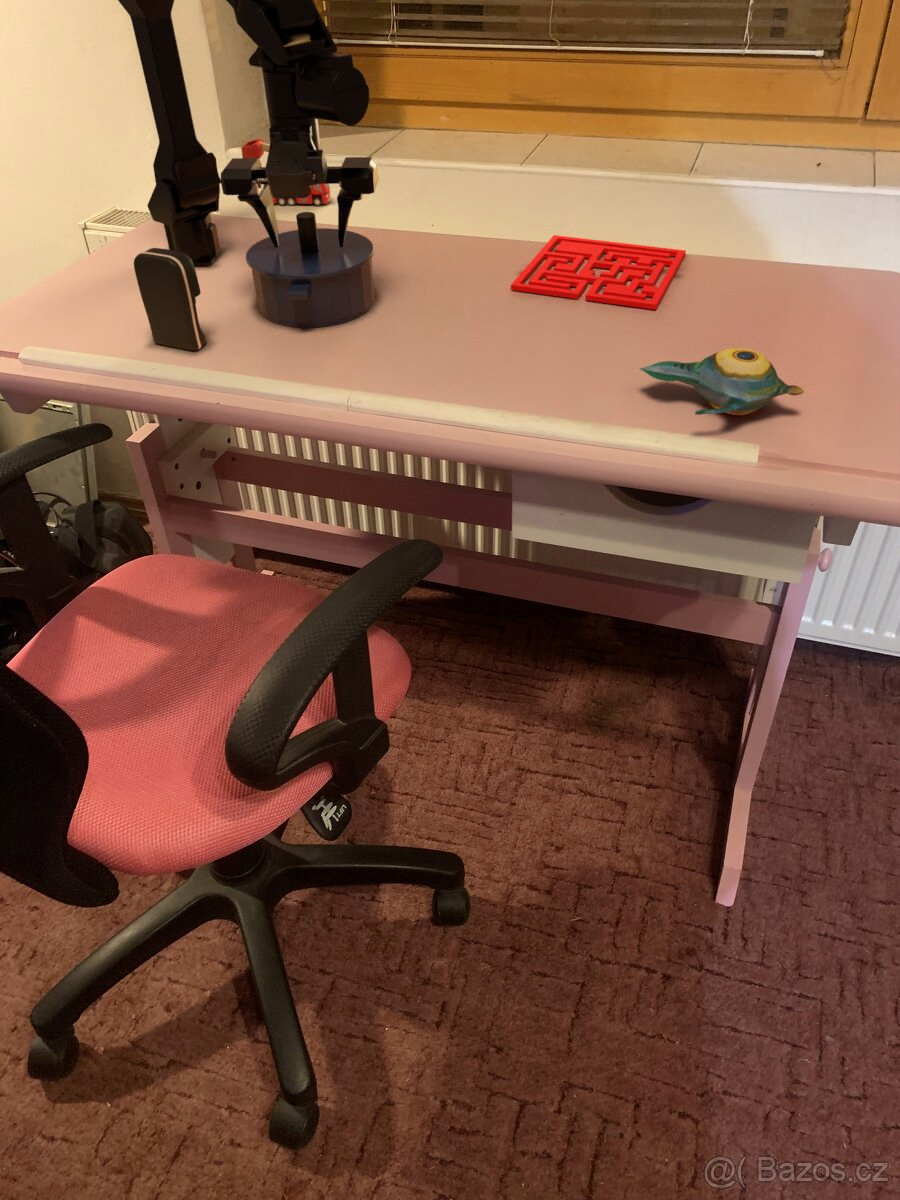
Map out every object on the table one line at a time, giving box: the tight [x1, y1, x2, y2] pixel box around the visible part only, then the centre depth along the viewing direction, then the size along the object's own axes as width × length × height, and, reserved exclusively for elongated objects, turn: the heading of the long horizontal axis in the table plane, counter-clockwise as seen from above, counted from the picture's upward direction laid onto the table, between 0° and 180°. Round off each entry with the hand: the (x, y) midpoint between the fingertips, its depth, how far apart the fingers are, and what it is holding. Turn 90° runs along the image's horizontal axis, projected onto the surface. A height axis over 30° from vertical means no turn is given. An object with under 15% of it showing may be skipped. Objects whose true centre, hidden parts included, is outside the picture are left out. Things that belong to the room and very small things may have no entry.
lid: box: [245, 211, 375, 280], centre depth 114 cm, size 17×17×6 cm
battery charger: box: [133, 247, 207, 351], centre depth 107 cm, size 7×4×11 cm, turn 66°
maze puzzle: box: [510, 234, 687, 311], centre depth 124 cm, size 20×20×1 cm
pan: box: [251, 257, 376, 329], centre depth 117 cm, size 16×21×6 cm
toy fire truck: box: [240, 138, 331, 207], centre depth 147 cm, size 3×14×10 cm, turn 84°
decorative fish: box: [638, 347, 805, 416], centre depth 95 cm, size 13×12×6 cm
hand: (309, 246), depth 114 cm, fingers open, 8 cm apart
